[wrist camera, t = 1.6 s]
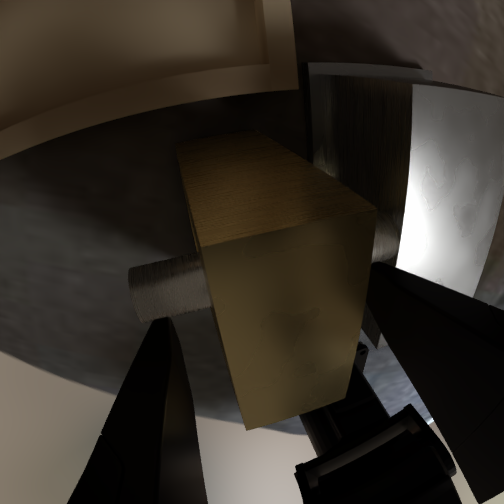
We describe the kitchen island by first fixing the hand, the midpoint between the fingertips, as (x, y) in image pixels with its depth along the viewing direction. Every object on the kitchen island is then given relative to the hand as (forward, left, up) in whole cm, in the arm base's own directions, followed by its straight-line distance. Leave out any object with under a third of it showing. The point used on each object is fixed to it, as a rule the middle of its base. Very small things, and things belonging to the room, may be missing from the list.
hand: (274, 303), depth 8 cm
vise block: (0, -4, -7) cm, 8 cm away
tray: (+11, +4, -7) cm, 13 cm away
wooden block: (0, 0, -6) cm, 6 cm away
